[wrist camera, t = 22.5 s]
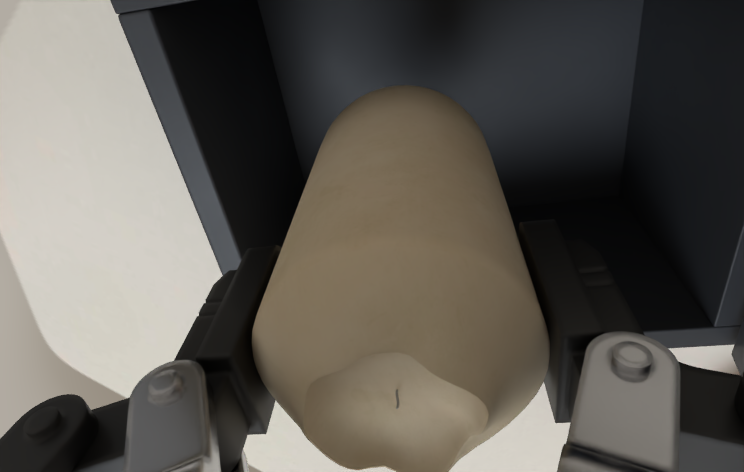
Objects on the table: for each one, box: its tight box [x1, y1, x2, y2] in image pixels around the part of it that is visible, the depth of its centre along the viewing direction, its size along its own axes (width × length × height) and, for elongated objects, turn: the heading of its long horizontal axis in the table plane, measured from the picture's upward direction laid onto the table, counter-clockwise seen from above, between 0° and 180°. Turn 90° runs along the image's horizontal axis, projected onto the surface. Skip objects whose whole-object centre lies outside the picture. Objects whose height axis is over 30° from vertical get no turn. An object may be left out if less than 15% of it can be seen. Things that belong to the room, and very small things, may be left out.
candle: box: [252, 85, 550, 472], centre depth 12 cm, size 6×6×10 cm
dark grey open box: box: [111, 0, 744, 348], centre depth 18 cm, size 17×14×10 cm
